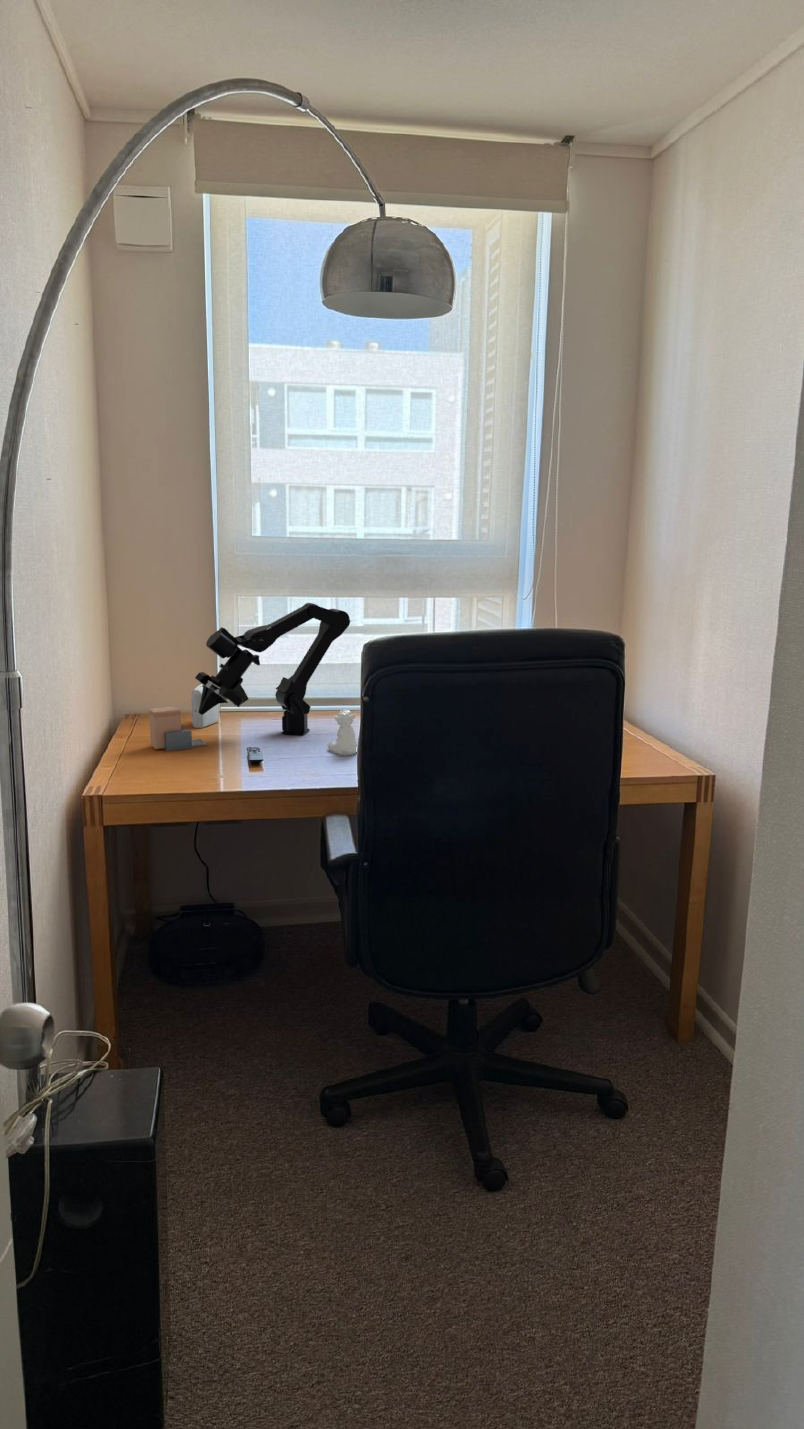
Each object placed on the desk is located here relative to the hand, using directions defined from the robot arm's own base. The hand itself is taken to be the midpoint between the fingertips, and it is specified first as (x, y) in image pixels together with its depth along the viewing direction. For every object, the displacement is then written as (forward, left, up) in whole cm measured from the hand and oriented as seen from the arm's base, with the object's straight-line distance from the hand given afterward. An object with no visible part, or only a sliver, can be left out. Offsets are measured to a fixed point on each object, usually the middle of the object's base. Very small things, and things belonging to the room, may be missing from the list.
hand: (200, 713), depth 262 cm
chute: (+4, +3, -8) cm, 10 cm away
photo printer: (+8, -21, -9) cm, 24 cm away
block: (+7, +6, -8) cm, 13 cm away
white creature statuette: (-41, 0, -9) cm, 42 cm away
